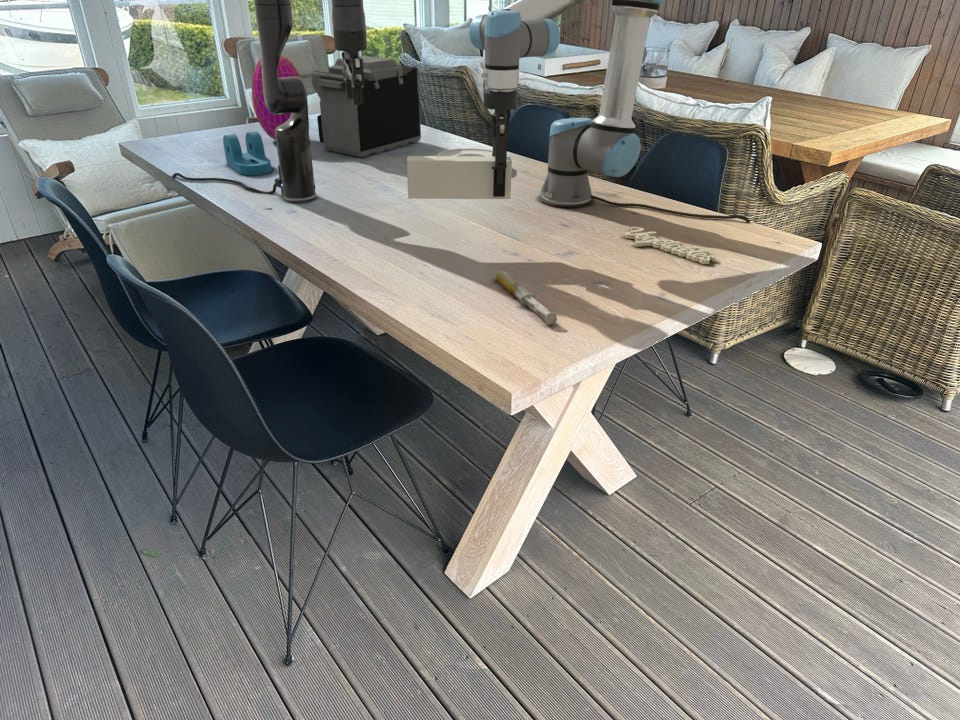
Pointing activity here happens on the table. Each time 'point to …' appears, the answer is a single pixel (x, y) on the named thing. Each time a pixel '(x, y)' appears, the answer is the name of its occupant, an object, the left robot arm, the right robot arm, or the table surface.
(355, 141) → the tool box
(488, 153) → the ashtray
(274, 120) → the decorative egg
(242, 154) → the camera mount
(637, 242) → the decorative sign
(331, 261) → the table surface
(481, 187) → the bar
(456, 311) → the table surface
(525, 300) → the syringe
